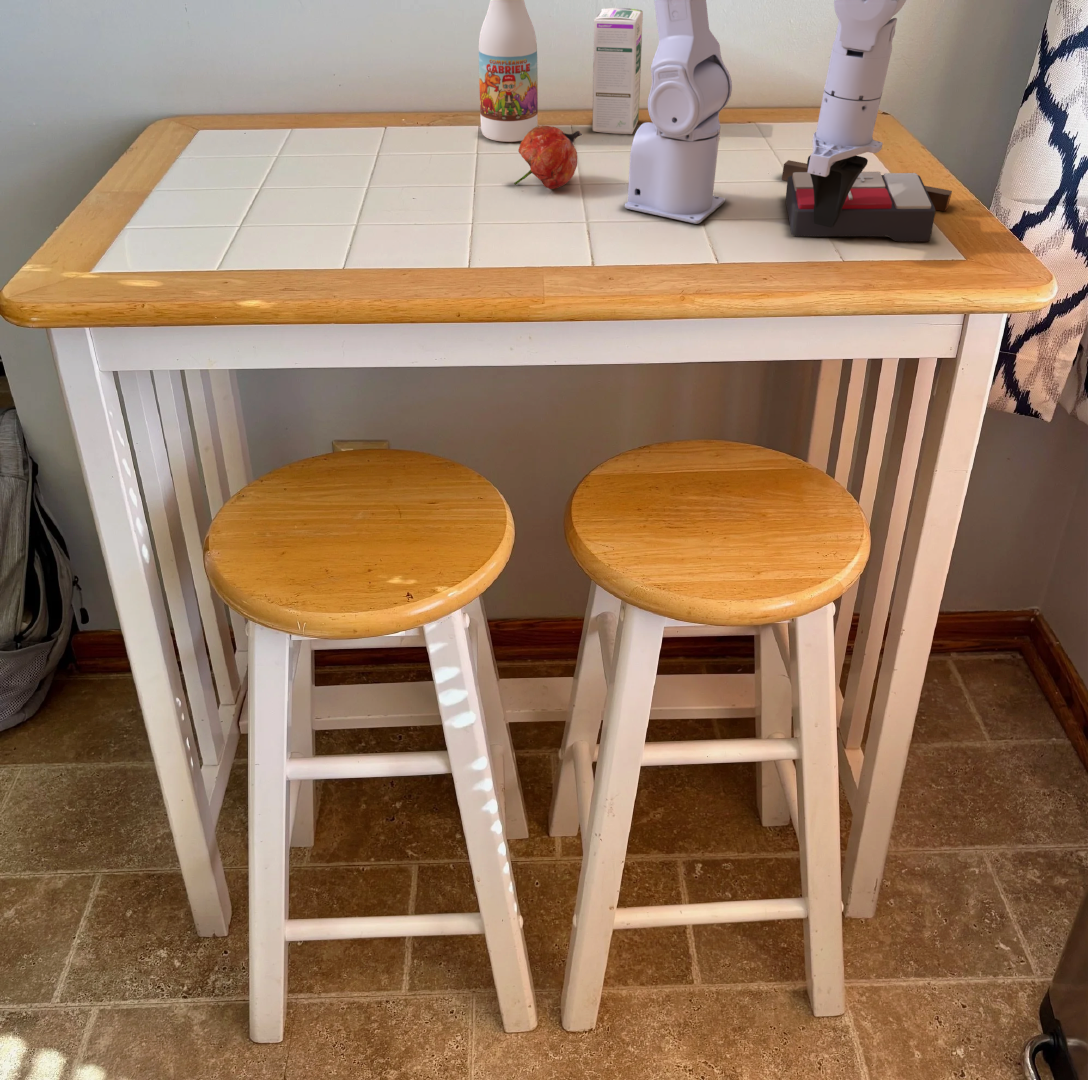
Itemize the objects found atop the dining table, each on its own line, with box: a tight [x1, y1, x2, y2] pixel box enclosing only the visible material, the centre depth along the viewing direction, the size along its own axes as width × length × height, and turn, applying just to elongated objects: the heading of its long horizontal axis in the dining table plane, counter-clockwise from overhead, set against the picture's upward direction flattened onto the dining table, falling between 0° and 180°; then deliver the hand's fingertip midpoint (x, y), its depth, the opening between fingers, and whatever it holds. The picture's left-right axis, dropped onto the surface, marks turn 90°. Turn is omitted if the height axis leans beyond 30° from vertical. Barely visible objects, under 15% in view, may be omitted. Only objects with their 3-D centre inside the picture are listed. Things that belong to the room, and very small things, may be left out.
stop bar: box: [781, 159, 953, 212], centre depth 125 cm, size 20×2×2 cm, turn 60°
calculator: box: [785, 171, 937, 242], centre depth 118 cm, size 11×4×15 cm
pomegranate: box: [513, 124, 583, 190], centre depth 125 cm, size 7×7×10 cm
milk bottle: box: [478, 0, 539, 143], centre depth 136 cm, size 8×8×20 cm
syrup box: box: [591, 7, 644, 135], centre depth 140 cm, size 6×6×14 cm
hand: (825, 223), depth 114 cm, fingers closed, pressing on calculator
